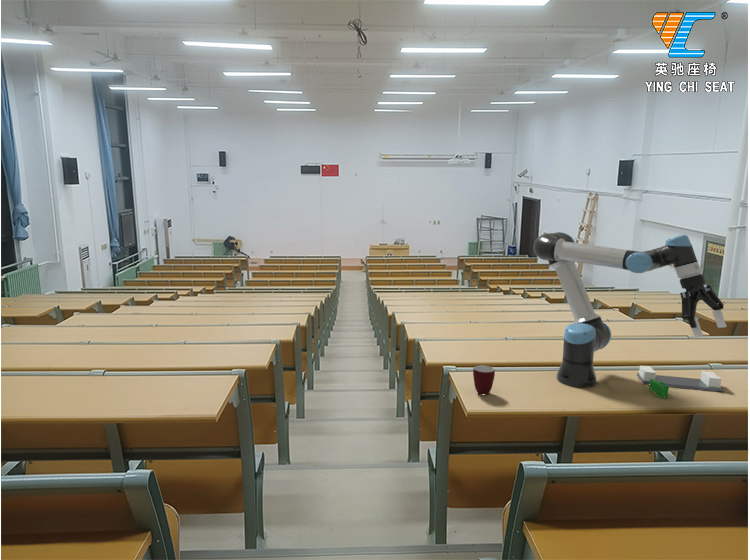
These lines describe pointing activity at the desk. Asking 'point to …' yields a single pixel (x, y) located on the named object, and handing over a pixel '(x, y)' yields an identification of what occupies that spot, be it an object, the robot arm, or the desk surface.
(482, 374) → the mug
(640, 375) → the mounting rail
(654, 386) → the pipe clamp
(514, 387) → the desk surface
